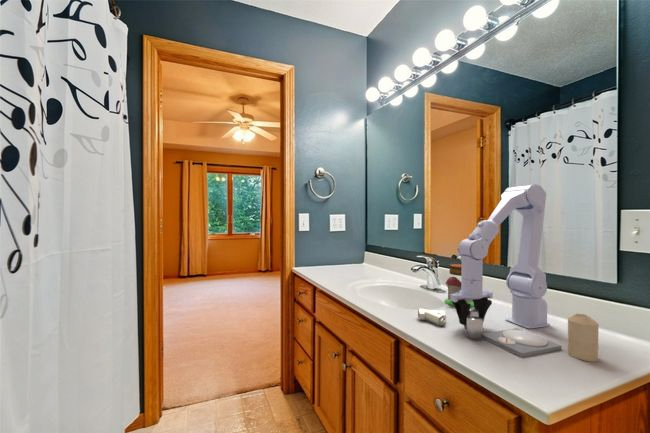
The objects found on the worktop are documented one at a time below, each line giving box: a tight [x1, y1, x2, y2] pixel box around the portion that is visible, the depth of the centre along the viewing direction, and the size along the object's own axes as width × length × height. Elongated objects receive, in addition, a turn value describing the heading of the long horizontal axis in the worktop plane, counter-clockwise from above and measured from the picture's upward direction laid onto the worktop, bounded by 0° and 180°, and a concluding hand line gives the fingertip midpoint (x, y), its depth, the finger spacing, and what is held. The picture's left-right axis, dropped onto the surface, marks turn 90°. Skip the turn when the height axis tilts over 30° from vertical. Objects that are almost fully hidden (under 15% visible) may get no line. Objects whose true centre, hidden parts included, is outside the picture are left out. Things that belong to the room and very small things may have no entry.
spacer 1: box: [463, 307, 479, 330], centre depth 86 cm, size 4×4×6 cm
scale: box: [483, 327, 563, 358], centre depth 76 cm, size 14×12×1 cm
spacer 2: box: [465, 316, 484, 342], centre depth 79 cm, size 4×4×6 cm
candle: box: [567, 313, 599, 363], centre depth 69 cm, size 6×6×10 cm
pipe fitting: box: [417, 308, 447, 327], centre depth 91 cm, size 8×4×7 cm
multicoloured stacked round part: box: [444, 263, 474, 308], centre depth 111 cm, size 12×13×15 cm
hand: (471, 323), depth 86 cm, fingers open, 6 cm apart
